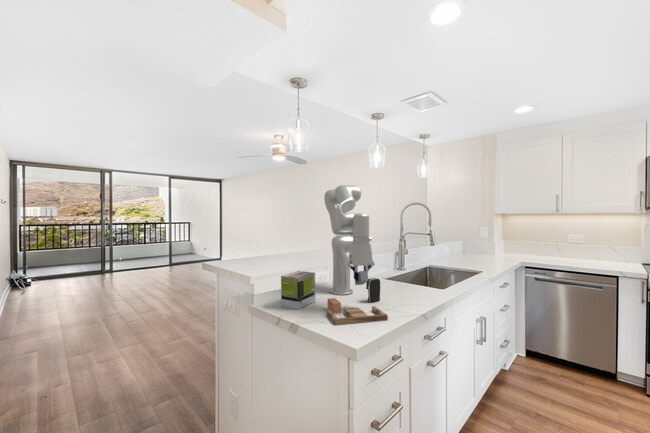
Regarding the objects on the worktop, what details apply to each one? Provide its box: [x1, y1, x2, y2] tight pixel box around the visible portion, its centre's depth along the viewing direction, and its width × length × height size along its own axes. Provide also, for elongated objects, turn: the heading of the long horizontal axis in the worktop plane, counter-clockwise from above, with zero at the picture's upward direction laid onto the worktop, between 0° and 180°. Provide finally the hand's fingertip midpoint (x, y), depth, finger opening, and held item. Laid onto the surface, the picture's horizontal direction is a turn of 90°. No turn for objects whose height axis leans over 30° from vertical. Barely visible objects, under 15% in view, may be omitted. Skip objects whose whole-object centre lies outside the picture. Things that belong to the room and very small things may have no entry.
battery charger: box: [365, 277, 381, 303], centre depth 150 cm, size 7×4×11 cm, turn 125°
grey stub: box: [354, 270, 370, 286], centre depth 137 cm, size 8×4×4 cm, turn 16°
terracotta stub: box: [327, 297, 342, 314], centre depth 135 cm, size 8×4×4 cm, turn 18°
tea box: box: [280, 270, 316, 310], centre depth 144 cm, size 15×10×15 cm
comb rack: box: [326, 305, 389, 326], centre depth 126 cm, size 12×22×2 cm, turn 105°
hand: (360, 279), depth 138 cm, fingers closed on grey stub, 3 cm apart
